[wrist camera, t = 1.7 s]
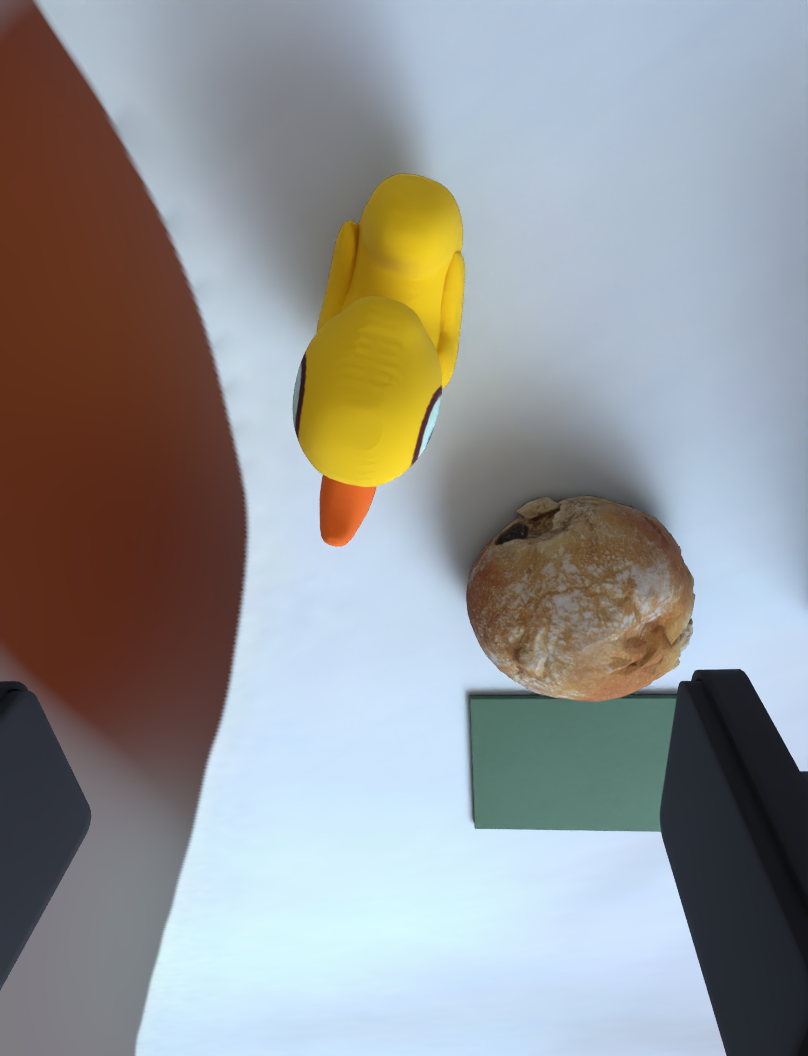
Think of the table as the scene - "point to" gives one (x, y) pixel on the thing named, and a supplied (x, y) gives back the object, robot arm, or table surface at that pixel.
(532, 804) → the napkin
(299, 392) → the duckling
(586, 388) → the table surface
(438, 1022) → the table surface
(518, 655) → the bread roll
